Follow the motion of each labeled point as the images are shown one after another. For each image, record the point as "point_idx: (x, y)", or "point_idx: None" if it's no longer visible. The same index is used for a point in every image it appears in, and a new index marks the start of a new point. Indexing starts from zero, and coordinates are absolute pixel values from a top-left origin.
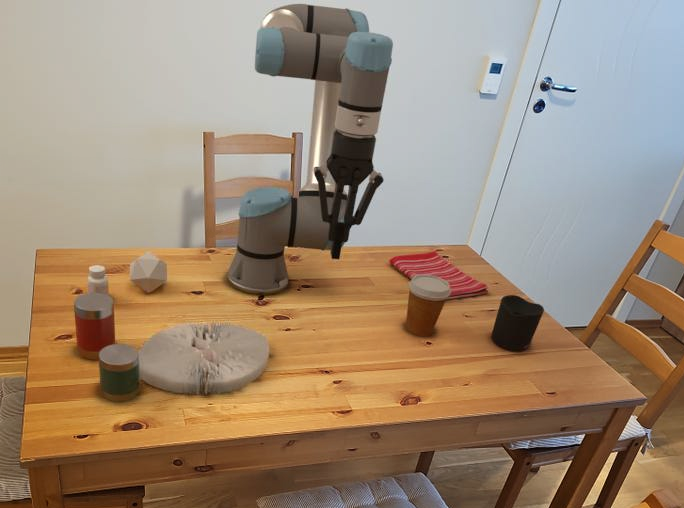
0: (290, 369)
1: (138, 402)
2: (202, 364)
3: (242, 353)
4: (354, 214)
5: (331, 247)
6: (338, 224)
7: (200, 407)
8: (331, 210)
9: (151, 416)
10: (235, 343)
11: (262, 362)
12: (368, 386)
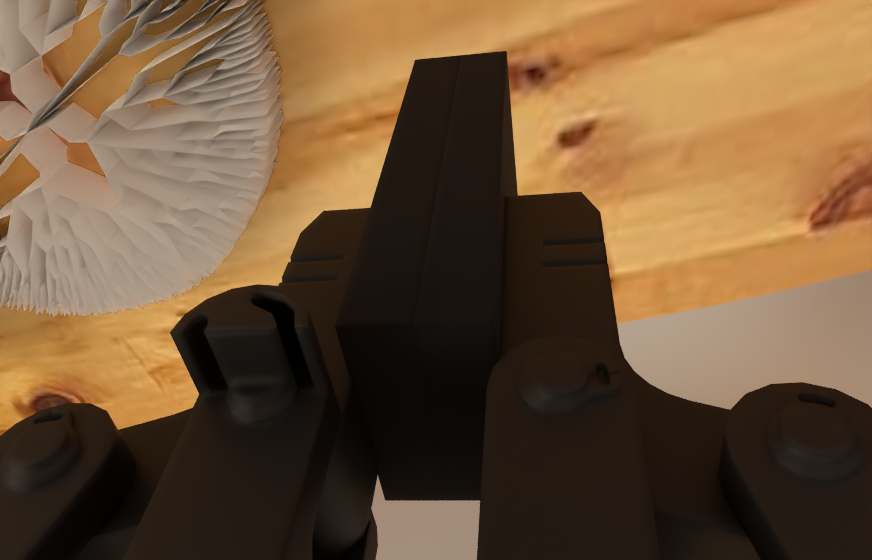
0: (380, 88)
1: (6, 332)
2: (67, 214)
3: (167, 124)
4: (757, 504)
5: (407, 92)
6: (402, 421)
7: (163, 329)
8: (132, 558)
9: (69, 372)
10: (106, 35)
11: (262, 170)
12: (705, 139)
